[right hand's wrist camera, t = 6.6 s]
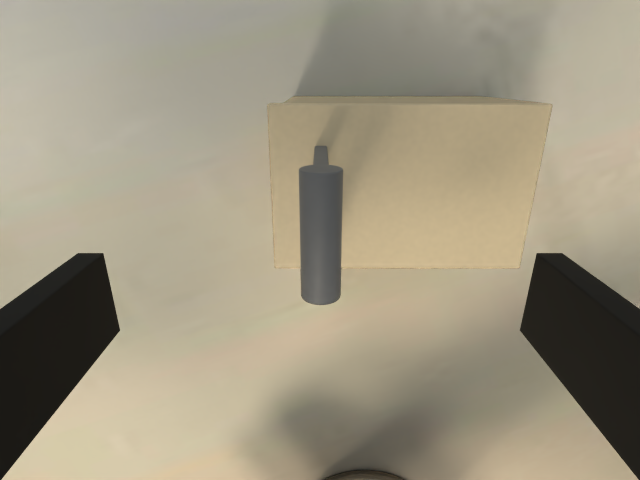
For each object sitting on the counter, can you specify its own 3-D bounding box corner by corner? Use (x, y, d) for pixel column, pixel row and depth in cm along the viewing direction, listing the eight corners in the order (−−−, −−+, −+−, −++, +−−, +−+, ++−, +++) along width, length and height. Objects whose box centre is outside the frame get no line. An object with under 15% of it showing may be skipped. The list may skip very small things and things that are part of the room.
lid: (276, 262, 26) (256, 345, 18) (269, 103, 22) (239, 116, 14) (513, 262, 26) (600, 345, 18) (544, 103, 22) (670, 116, 14)
